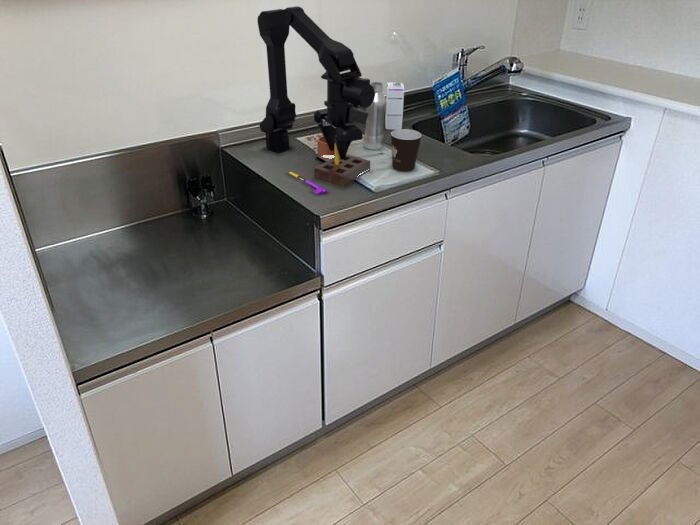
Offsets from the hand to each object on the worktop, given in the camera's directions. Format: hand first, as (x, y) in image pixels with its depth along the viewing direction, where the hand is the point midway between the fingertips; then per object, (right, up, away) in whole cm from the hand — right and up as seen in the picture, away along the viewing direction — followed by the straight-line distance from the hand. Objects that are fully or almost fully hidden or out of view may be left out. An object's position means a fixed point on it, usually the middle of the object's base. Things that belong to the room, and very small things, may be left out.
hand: (337, 154), depth 155 cm
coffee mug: (+19, -1, +10) cm, 22 cm away
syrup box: (+18, +17, +38) cm, 45 cm away
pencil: (0, -5, +3) cm, 6 cm away
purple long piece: (-9, -9, -3) cm, 13 cm away
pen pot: (-3, +2, +14) cm, 14 cm away
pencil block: (+1, -6, +2) cm, 6 cm away
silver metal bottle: (+11, +6, +20) cm, 24 cm away
